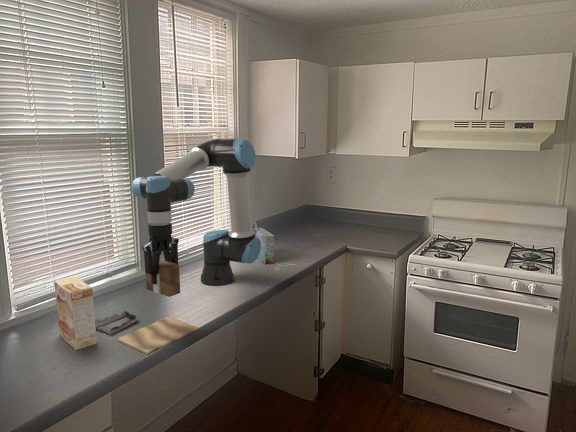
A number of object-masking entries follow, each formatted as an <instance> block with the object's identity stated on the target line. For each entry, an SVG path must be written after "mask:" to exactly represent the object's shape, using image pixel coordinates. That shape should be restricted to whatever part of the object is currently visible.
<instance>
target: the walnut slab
mask: <svg viewBox="0 0 576 432" xmlns="http://www.w3.org/2000/svg"><path fill="white" fill-rule="evenodd" d="M157 274H159V275H160V292H161V293H160V295H162V296H165V297H168V298H170V297H173V296H176V295H178V294H181V282H180V281H181V280H180V278H181V277H180V275H181V274H180V264H179V263H178V264H176V263H172V262H168V261H165V259H159V266H158V273H157ZM145 288H146V290H147V291H151V292H153V293H155V292H154V291H153V284H152V283H151V275H150V274H147V273H145Z"/></svg>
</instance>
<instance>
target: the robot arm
mask: <svg viewBox="0 0 576 432" xmlns="http://www.w3.org/2000/svg"><path fill="white" fill-rule="evenodd" d="M256 159H257V158H256V151H255V148H254V145H253V144H252V143H251V141H249V140H246V139H240V138H226V139H225V138H221V139H220V138H216V139H215V138H214V139H211V140H207V141H205V142H202V143H201V144H199V145H196V146H195V147H192V148H191V149H190V151H189V153H188V154H186V155H184V156H183V157H180V158H179V159H177V160H176V161H174V162H172V163H170V164H168V165H166V166H165V167H162V169H160V170H158V171H156V172H154V173H152V174H151V175H148V176H147V177H145V176H141V177H136V178H135V179H134V180H133V181H132V184H131V191H132V194H133V195H134V196H135V197H136V198H138V199H140V198H141V199H143V200H146V203H147V204H146V205H147V206H146V207H147V208H146V209H147V223H148V225H147V228H148V229H147V230H148V235H149V241H148V243H146V244H143V245H142V246H141V248H142V250H143V257H144V272H145V274H146V273H147V274H150V275H151V283H152V284H153V291H154V292H153V291H152V292H153V293H155V294H158V295H159V294H160V293H161V292H160V275H159V274H157V273H158V266H159V259H160V258H161V255H162V254H163V257H164V261H168V262H172V263H176V264H179V247H178V245H179V242H180V240H179V238H176V237H173V236H172V234H173V224H172V221H173V220H172V218H173V217H172V203H177V202H185V201H187V200H190V199H191V198H192V197H193V196H194V194H195V192H196V191H195V184H194V183H193V182H192V180H190V179H188V177H190V176H191V175H193V174H194V173H196V172H197V171H199V170H200V171H203V170H205V169H207V168H210V167H213V168H214V167H215V168H217V167H218V168H222V173H223V174H224V175H225V176H226V179H227V191H228V192H227V193H228V204H229V215H230V216H229V217H230V228H231V230H230V231H229V230H228V229H217V230H213V231H208V232H205V233H204V234H203V239H202V240H203V241H202V246H203V268H202V272H201V275H200V282H201V283H202V284H203V285H207V286H214V287H215V286H224V285H229V284H231V283H233V282H234V281H235V273H234V272H233V269H232V266H231V262H234V263H241V264H253V263H255V261H257V260H258V259H259V258H258V256H259V253H260V250H261V241H260V239H259V238H257V237H256V238H255V231H254V230H253V228H252V223H251V222H252V221H251V207H250V192H249V179H248V178H249V177H248V176H249V174H250V173H251V171H252V168H254V166H255V164H256ZM160 260H161V259H160ZM160 295H161V294H160Z"/></svg>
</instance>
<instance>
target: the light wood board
mask: <svg viewBox="0 0 576 432" xmlns="http://www.w3.org/2000/svg"><path fill="white" fill-rule="evenodd" d="M199 330H200V327H198V326H196V325H193V324H192V323H191V324H190V323H187V322H185V321H182V320H179V319H177V318H173V317H171V316H167V317H164V318H162V319H160V320H157V321H156V322H152V323H150V324H148V325H145V326H143V327H141V328H139V329H136V330H134V331H132V332H129V333H127V334H125V335H122V336H119V337H118V338H116V341H117V342H119V343H121V344H123V345H126V346H128V347H130V348H132V349H134V350H136V351H139V352H141V353H143V354H145V355H149V354H151V353H153V352H155V351H158V350H160V349H162V348H163V347H165V346H168V345H170V344H172V343H174V342H176V341H178V340H181V339H182V338H185V337H186V336H188V335H191V334H193V333H195V332H196V331H199Z"/></svg>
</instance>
